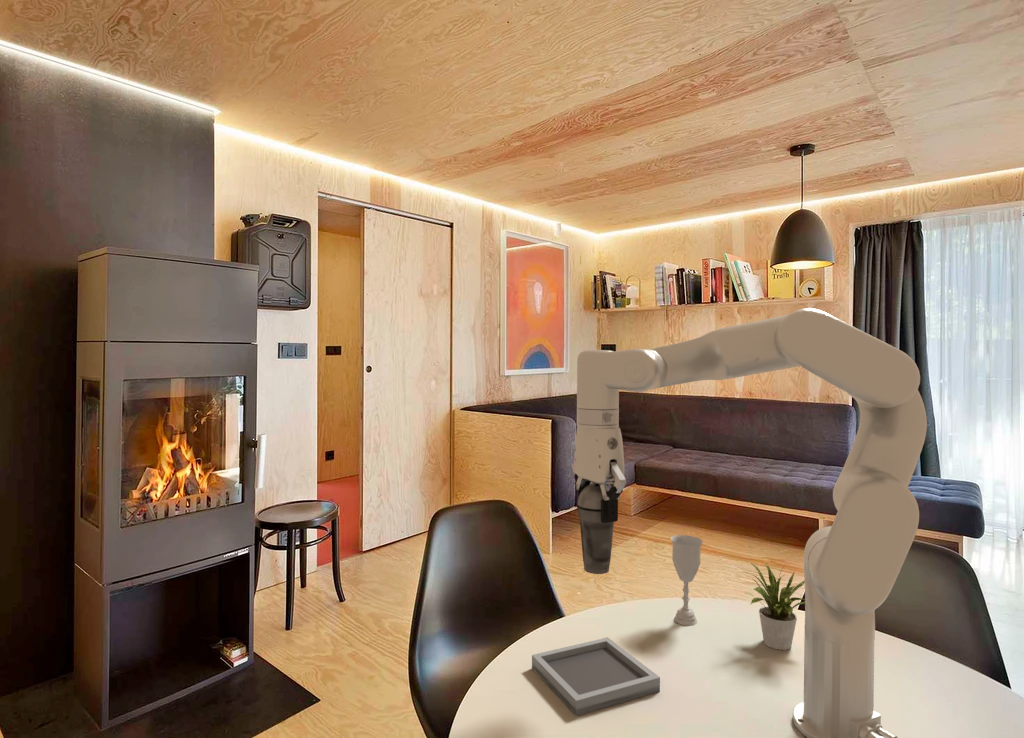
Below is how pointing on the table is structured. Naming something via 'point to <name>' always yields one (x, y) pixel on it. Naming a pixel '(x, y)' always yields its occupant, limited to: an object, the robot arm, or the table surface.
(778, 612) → the house plant
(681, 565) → the chalice
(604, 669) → the tray
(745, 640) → the table surface
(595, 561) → the beverage cup
